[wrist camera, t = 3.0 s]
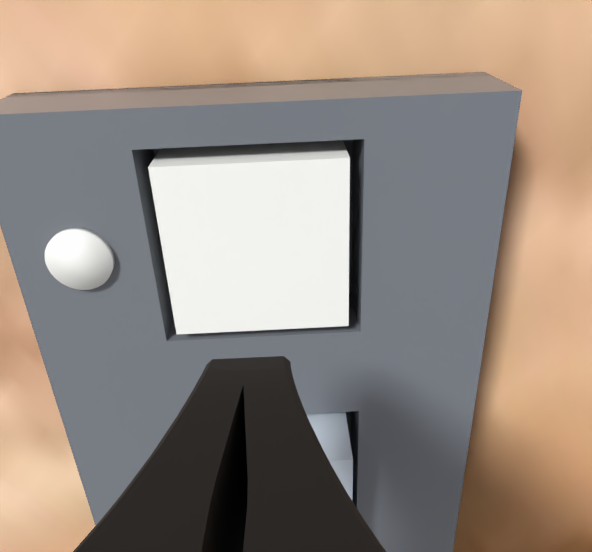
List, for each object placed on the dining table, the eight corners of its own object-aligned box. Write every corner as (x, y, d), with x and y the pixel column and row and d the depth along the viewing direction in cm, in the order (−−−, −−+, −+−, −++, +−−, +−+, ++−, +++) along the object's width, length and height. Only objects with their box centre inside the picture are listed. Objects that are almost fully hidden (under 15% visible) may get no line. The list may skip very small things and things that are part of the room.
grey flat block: (484, 72, 14) (525, 92, 12) (422, 605, 25) (436, 671, 23) (13, 93, 14) (-40, 118, 12) (156, 620, 25) (144, 687, 23)
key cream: (341, 135, 14) (349, 157, 12) (340, 287, 16) (348, 326, 15) (164, 143, 14) (147, 167, 12) (187, 295, 16) (176, 334, 15)
